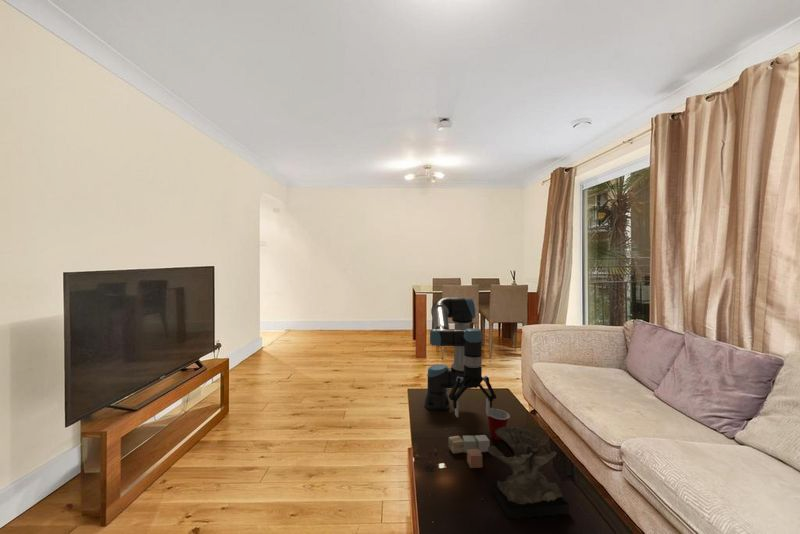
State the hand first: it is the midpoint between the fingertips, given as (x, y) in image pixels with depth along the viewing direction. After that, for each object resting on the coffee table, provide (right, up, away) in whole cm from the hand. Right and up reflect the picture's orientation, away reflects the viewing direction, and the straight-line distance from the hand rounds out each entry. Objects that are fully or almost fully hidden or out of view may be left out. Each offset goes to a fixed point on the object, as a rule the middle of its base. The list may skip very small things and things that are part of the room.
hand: (472, 415), depth 142 cm
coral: (+13, -20, -22) cm, 32 cm away
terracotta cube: (0, -19, -3) cm, 19 cm away
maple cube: (-6, -19, +8) cm, 21 cm away
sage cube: (0, -19, +8) cm, 21 cm away
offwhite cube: (+6, -19, +9) cm, 22 cm away
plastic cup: (+16, -19, +19) cm, 31 cm away
